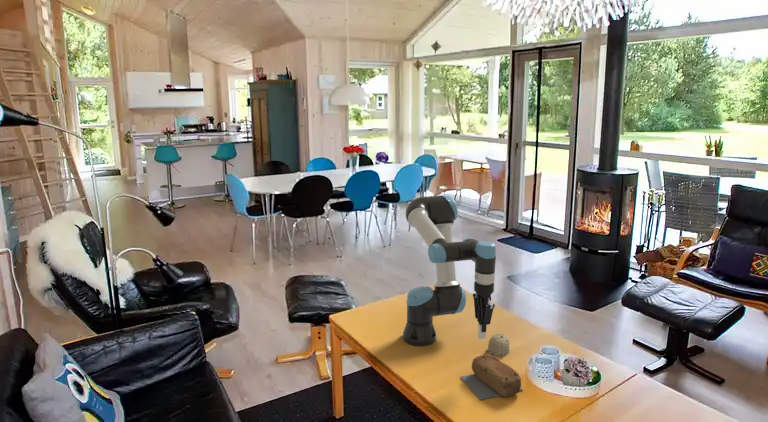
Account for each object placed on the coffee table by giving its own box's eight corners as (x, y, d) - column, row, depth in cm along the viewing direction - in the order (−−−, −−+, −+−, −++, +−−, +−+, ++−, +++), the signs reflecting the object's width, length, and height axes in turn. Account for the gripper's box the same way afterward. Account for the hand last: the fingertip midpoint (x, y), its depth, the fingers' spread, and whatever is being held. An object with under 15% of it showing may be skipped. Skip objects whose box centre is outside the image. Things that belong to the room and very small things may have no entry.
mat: (460, 377, 209) (460, 376, 209) (500, 369, 215) (500, 368, 215) (480, 400, 194) (480, 398, 194) (522, 390, 200) (522, 389, 200)
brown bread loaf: (469, 373, 210) (503, 400, 194) (470, 356, 209) (505, 382, 192) (490, 367, 216) (525, 392, 199) (491, 350, 214) (527, 375, 197)
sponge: (509, 359, 231) (512, 336, 234) (508, 356, 222) (510, 332, 226) (488, 355, 234) (491, 332, 237) (485, 352, 225) (489, 329, 229)
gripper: (467, 277, 207) (465, 332, 213) (484, 289, 196) (481, 347, 201) (484, 274, 210) (481, 329, 215) (502, 286, 198) (498, 344, 204)
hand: (481, 338), depth 208 cm, fingers closed
